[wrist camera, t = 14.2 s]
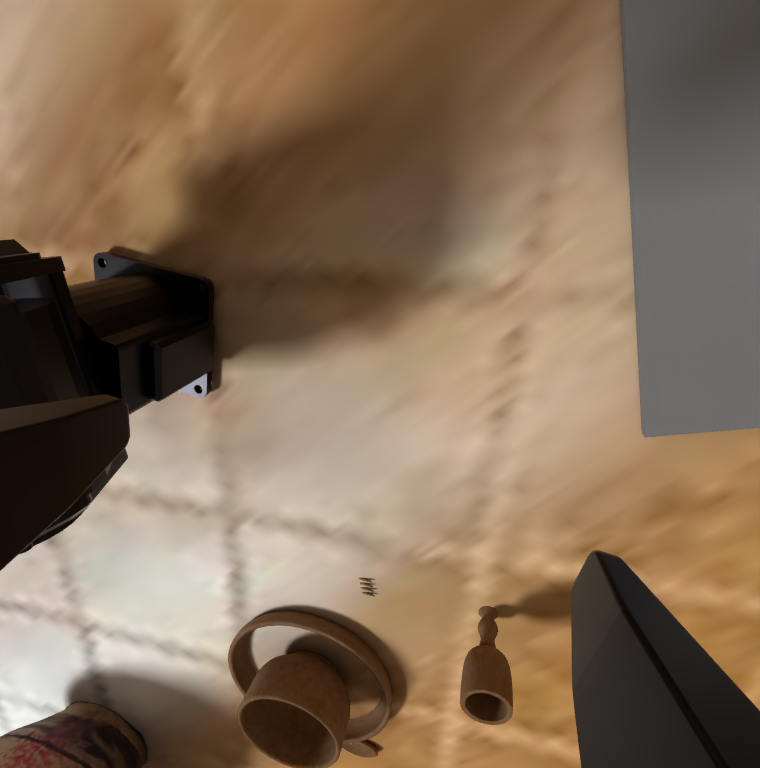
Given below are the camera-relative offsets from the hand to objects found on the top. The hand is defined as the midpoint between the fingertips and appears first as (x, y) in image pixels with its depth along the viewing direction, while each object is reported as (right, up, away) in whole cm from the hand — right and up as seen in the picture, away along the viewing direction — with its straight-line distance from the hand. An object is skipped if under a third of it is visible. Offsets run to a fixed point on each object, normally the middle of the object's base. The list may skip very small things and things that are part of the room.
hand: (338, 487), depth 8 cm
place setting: (0, -18, +23) cm, 29 cm away
